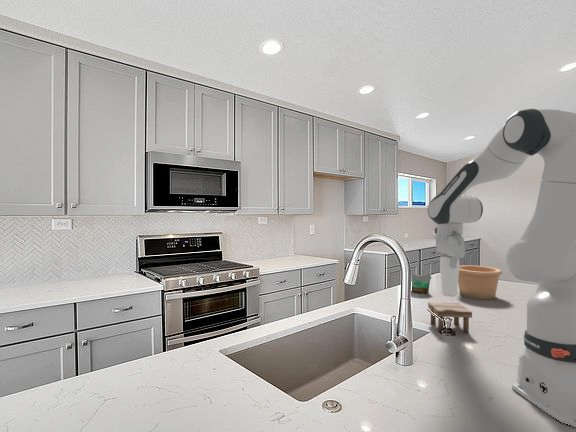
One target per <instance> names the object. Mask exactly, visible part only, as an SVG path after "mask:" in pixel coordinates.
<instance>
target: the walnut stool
mask: <svg viewBox="0 0 576 432" xmlns="http://www.w3.org/2000/svg"><path fill="white" fill-rule="evenodd" d="M427 305H428V306H427V307H428V308H429V309H430V312H431V311H432V312H433V313H435V314H436V316H437V317H440V318H441V319H444V318H453V324H454V325H460V318H463V319H462V321H463V323H462V325H463V327H462V330H463V331H462V333H464V334H468V333H470V331H469V330H470V329H469V328H470V327H469V325H470V322H469V320H470V319H471V318H473V311H471V310H470V309H468V308H467V307H466V306H464V305H463V304H461V303H459V302H432V301H431V302H430V301H429V302H428V304H427ZM437 317H435V316H433V315H432V314H431V313H430V324H432V325H435V324H436V318H437ZM444 320H445V319H444ZM437 322H438V324H437V325H438V327H437V329H438V332H439V331H441V330H443V329H444V328H445V327H444V326H445V325H444V322H445V321H444V322H443V321H441V320H440V319H437Z"/></svg>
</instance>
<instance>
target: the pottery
mask: <svg viewBox="0 0 576 432" xmlns="http://www.w3.org/2000/svg"><path fill="white" fill-rule="evenodd" d="M501 275H503V271H502V270H501V269H499V268H495V267H492V266H491V267H490V266H483V265H471V264H470V265H466V264H465V265H464V264H463V265H462V264H461V265H459V277H458V290H459V295H460V296H462V297H466V298H470V299H474V300H493V299H495V298H496V295H497V290H498V283H499V277H500V276H501Z"/></svg>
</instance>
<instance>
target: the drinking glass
mask: <svg viewBox="0 0 576 432" xmlns="http://www.w3.org/2000/svg"><path fill="white" fill-rule="evenodd" d="M451 261H452V259H451V256H450V255H448V256H442V255H440V257H439V270H440V280H441V282H440V283H441V295H443V296H446V297H457V295H458V289H459V284H458V277H459V266H460V258H458V262H457V268H451V267H450V263H451Z"/></svg>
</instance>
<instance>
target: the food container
mask: <svg viewBox="0 0 576 432" xmlns="http://www.w3.org/2000/svg"><path fill="white" fill-rule="evenodd" d="M411 275H412V292H411V293H414V294H416V295H417V294H418V295H427V294H429V289H430V282H431V279H432V275H431V274H429V275H422V274H417V275H416V274H411Z"/></svg>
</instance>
